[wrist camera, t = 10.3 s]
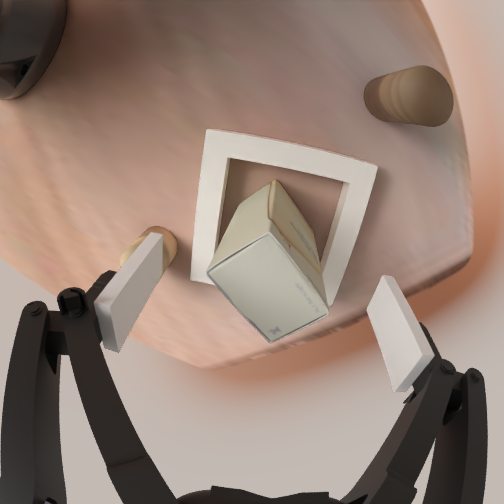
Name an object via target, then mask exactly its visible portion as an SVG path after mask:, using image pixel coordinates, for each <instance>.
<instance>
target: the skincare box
mask: <svg viewBox="0 0 504 504" xmlns="http://www.w3.org/2000/svg"><path fill="white" fill-rule="evenodd" d="M206 275H207V277H208V278H209V279H210V280H211V281H212V282H213V283H214V284H215V286H216V287H217V288H218V289H219V290H220V291H221V292H222V294H223V295H224V296H225V297H226V298H227V299H228V300H229V301H230V303H231V304H232V305H233V306H234V307H235V308H236V309H237V310H238V312H239V313H240V314H241V315H242V316H243V317H244V318H245V319H246V320H247V321H248V322H249V323H250V324H251V325H252V326H253V327H254V328H255V329H256V330H257V331H258V332H259V333H260V334H261V335H262V336H263V337H264V338H265V339H266V340H267V341H268V342H269V343H273V342H275V341H277V340H280V339H282V338H284V337H286V336H288V335H290V334H293V333H295V332H297V331H299V330H301V329H303V328H305V327H307V326H309V325H311V324H313V323H315V322H316V321H318V320H320V319H322V318H324V317H326V316H328V315H329V313H330V312H329V307H328V303H327V297H326V292H325V287H324V282H323V277H322V272H321V267H320V262H319V257H318V252H317V247H316V242H315V238H314V233H313V231H312V229H311V228H310V226H309V225H308V223H307V221H306V220H305V218H304V217H303V215H302V214H301V212H300V211H299V209H298V208H297V206H296V205H295V204H294V202H293V201H292V199H291V198H290V197H289V195H288V194H287V192H286V191H285V190H284V188H283V187H282V186H281V184H280V183H279V182H278V180H274V181H272V182H271V183H269V184H268V185H266V186H265V187H263V188H261V189H260V190H258V191H257V192H256V193H254V194H253V195H251V196H250V197H248V198H247V199H245V200H244V201H243V202H241V203H240V204H239V206H238V208H237V210H236V212H235V214H234V216H233V218H232V220H231V222H230V224H229V226H228V228H227V230H226V232H225V234H224V236H223V238H222V240H221V242H220V244H219V246H218V248H217V250H216V252H215V254H214V256H213V258H212V260H211V262H210V264H209V266H208V268H207V270H206Z"/></svg>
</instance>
